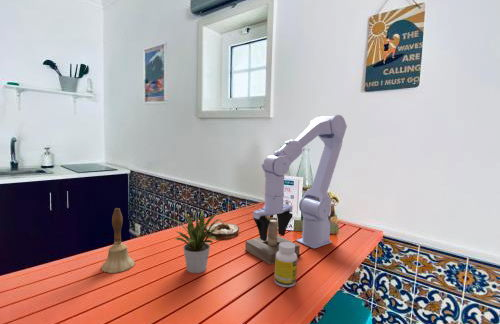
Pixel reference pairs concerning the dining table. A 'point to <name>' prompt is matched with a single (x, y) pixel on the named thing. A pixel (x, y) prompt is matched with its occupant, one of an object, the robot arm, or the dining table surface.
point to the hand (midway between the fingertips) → (272, 237)
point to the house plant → (197, 243)
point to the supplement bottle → (286, 265)
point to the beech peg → (272, 233)
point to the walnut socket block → (266, 248)
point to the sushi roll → (224, 230)
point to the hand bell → (117, 249)
